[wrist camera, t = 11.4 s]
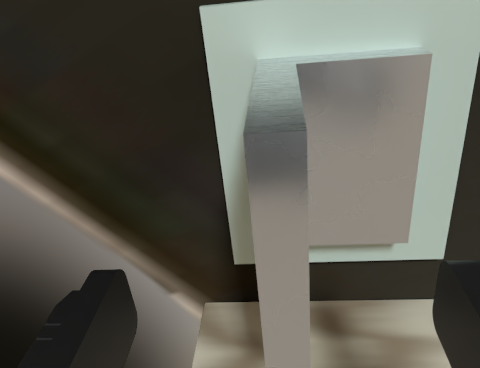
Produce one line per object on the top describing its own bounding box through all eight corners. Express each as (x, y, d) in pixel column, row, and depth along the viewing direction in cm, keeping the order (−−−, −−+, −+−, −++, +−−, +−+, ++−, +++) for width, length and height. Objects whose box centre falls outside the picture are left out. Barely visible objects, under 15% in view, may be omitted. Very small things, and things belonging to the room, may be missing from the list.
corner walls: (208, 320, 23) (192, 404, 19) (137, -50, 14) (77, -52, 10) (538, 317, 21) (605, 411, 17) (688, -117, 12) (909, -155, 8)
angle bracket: (257, 59, 16) (243, 134, 9) (421, 46, 15) (534, 118, 8) (269, 230, 19) (265, 370, 13) (400, 227, 19) (466, 372, 12)
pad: (235, 259, 21) (234, 264, 21) (201, 6, 15) (199, 6, 15) (440, 253, 20) (443, 258, 19) (487, -24, 14) (492, -23, 14)
